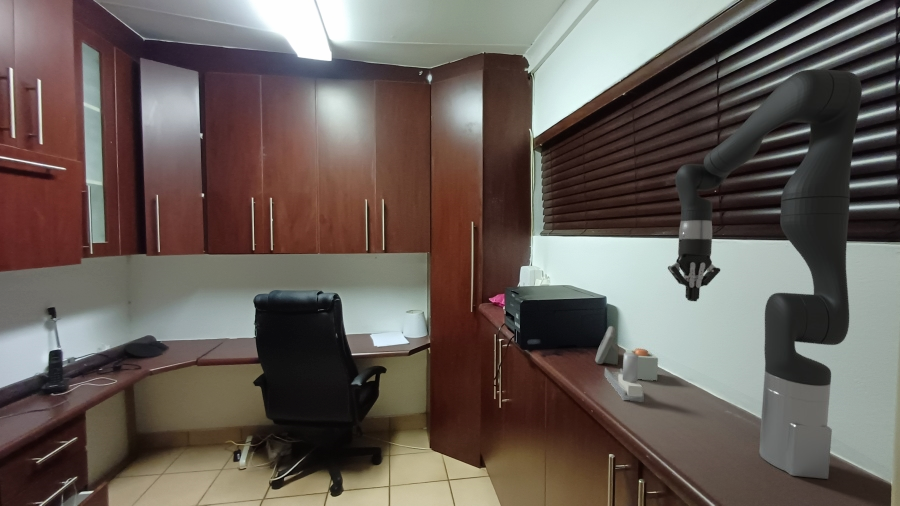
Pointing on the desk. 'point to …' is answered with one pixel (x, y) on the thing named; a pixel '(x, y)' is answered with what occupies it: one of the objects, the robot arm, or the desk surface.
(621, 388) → the rail
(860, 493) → the desk surface
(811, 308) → the robot arm
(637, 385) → the carriage
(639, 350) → the button
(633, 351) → the button housing
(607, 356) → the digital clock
